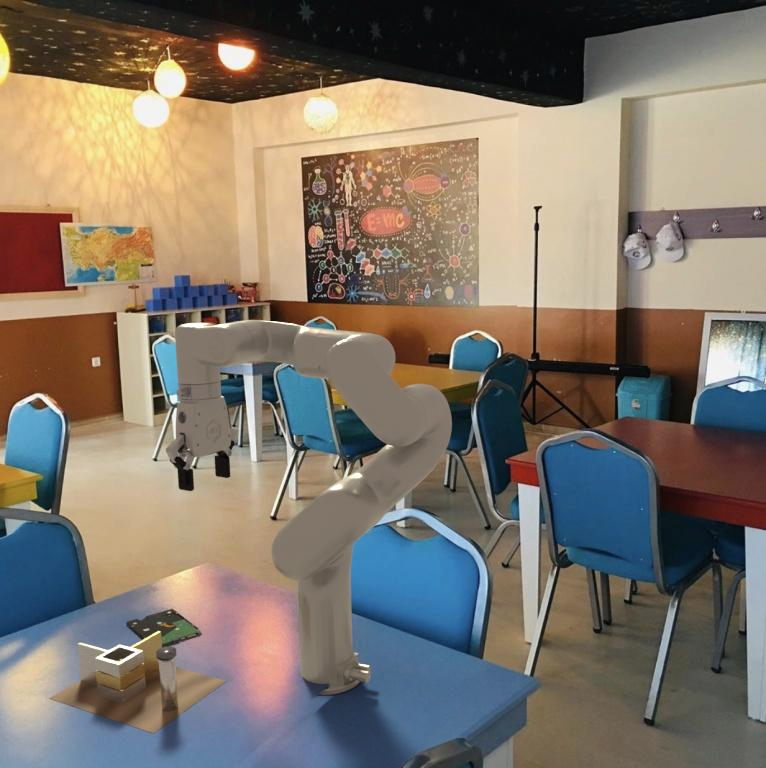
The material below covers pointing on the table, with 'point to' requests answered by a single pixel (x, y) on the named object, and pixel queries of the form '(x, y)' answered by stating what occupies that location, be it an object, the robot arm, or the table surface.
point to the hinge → (120, 667)
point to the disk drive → (165, 627)
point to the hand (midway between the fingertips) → (205, 483)
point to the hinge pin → (168, 678)
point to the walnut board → (142, 700)
